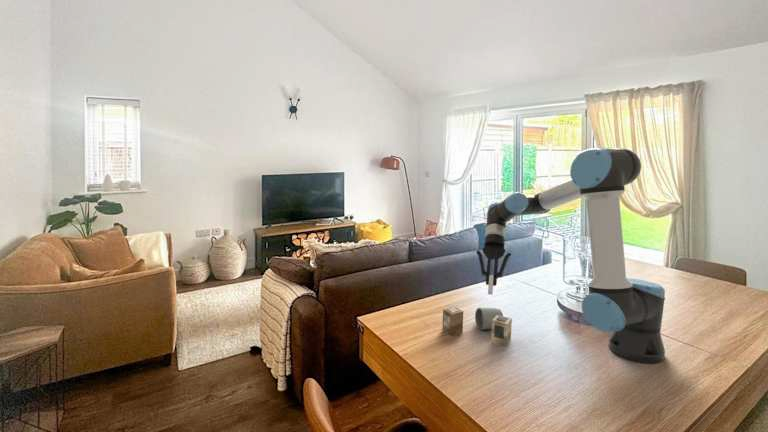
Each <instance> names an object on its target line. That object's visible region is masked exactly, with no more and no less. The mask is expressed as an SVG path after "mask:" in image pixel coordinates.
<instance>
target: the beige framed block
mask: <svg viewBox="0 0 768 432" xmlns="http://www.w3.org/2000/svg"><path fill="white" fill-rule="evenodd" d="M512 321H513V319H512V318H511V317H507V316H504V315H503V316H499V315H497V316H496V317H495V318H494V319H493V320H492V329H491V334H490V335H491V338H490V343H491V344H494V345H497V346H501V347H507V346H508V345H509V344H510V343H511V341H512V338H511V337H512V323H513V322H512Z"/></svg>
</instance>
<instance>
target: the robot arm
mask: <svg viewBox="0 0 768 432" xmlns="http://www.w3.org/2000/svg"><path fill="white" fill-rule="evenodd" d="M570 165H571V166H570V168H569V169H570V171H569V173H570V179H568V180H565V181H564V182H561V183H558V184H555V185H554V186H551V187H549V188H547V189H545V190H543V191H541V192H539V193H536V194H531V195H525V194H524V193H522V192H520V191H516V192H513V193H512V194H510V195H508V196H507V197H506V198H505V199H503V201H501V202H494V203H491V204H490V205H488V208H487V209H488V210H487V213H486V224H485V225H486V226H485V234H484V236H485V237H484V244H483V245H484V246H483V247H482V249H481V250H476V256H477V258H478V260H479V266H480V272H481V276H483V277H485V285H487V287H488V288H487V294H488V295H491V296H492V295H493V291H494V290H493V289H494V286H495V287H496V286H497V284H498V283H497V281H498V278H502V277H503V275H504V272H505V269H506V267H507V264H508V262H509V261H510V259H511V258H512V257H511V256H512V253H511V252H507V251H506V249H505V242H506V230H507V229H506V228H507V227H506V226H507V223H508V222H509V221H511V220H512V219H514V218H515V217H517V216H529V215H543V214H547V213H549V212H550V211H551V210H552V209H554V208H557V207H560V206H563V205H565V204H568V203H571V202H573V201H576V200H578V199H581V198H583V199H584V200H585V201H586V209H587V220H588V232H589V233H588V234H589V244H590V255H591V266H592V277H593V278H592V279H591V281H590V282H589V283H588V284H587V286H588V287H587V288H588V294H587V295H585V296H584V298H583V299H582V301H581V311H582V314H583V317H584V318H585V320H586V321H587V322H588V323H589V324H590V325H591V326H592V327H593V328H594V329H596V330H598V331H599V332H602V333H603V332H604V333H611V334H610V336H609V338H608V349H610V351H611V352H613V353H614V354H616V355H618V356H620V357H621V358H624V359H626V360H630V361H633V362H638V363H643V364H657V363H662V362H663V361H664V360H665V356H666V350H665V346H664V345H665V344H664V342H663V339H662V338H663V337H662V334H661V330H662V329H661V328H662V321H663V313H664V306H665V300H666V297H665V295H666V291H665V288H664V287H663V286H661V285H659V284H658V283H654V282H651V281H647V280H642V279H638V278H630V277H628V278H627V273H626V259H625V249H624V239H623V228H622V227H623V226H622V225H623V224H622V216H621V205H620V204H621V203H620V197H621V196H622V195H623V194H624V193H625V191H626V190H625V189H626V188H625V186H626V185H630V184H632V183H633V182H634V181H635V180H636V179H638V177H639V176H640V173H641V171H642V163H641V159H640V158H639V156H638V155H637V154H636V153H635V152H634V151H633V150H631V149H628V148H625V147H624V148H621V147H620V148H619V147H618V148H615V147H613V148H612V147H591V148H588V149H587V148H586V149H584V150H582V151H581V152H579V153H578V154H577V155H576V157H575V158H574V159H573V161H572V162H571V164H570ZM483 256H485V257H486V258H487V263H486V264H487V265H486V269H485V265H484V260H483ZM502 257H503V261H502V263H501V266H500V268H499V260H500V259H501V258H502ZM492 260H494V264H493V265H494V266H493V274H491V269H492V268H491V267H492ZM498 268H499V269H498Z"/></svg>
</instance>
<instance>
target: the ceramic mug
mask: <svg viewBox="0 0 768 432" xmlns="http://www.w3.org/2000/svg"><path fill="white" fill-rule="evenodd" d="M497 315H499V316H503V317H504V315H503V311H501V309H500V308H497V307H477V309H476V311H475V314H474V317H475V318H474V319H475V325H476V327H477V328H478V330H480V331H485V330H486V331H487V330H492V320H493V319H494V318H495V317H496V316H497Z"/></svg>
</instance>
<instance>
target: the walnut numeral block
mask: <svg viewBox="0 0 768 432" xmlns="http://www.w3.org/2000/svg"><path fill="white" fill-rule="evenodd" d="M441 328H442V329H441V331H442V332H444V333H445V334H447V335H449V336H451V337H453V336H457V335H460V334H463V331H464V311H463V310H461V309H460V308H458V307H456V306H451V307H447V308H443V309H442V327H441Z"/></svg>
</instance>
